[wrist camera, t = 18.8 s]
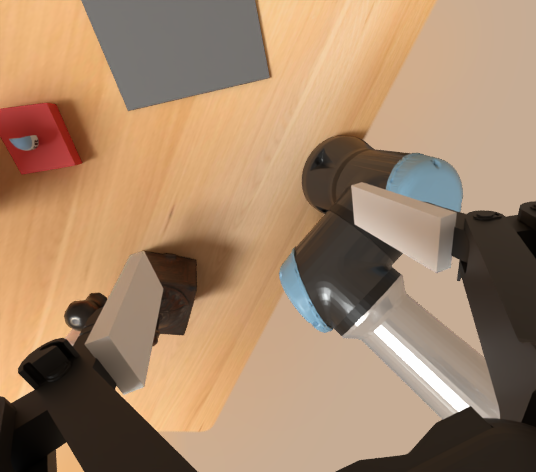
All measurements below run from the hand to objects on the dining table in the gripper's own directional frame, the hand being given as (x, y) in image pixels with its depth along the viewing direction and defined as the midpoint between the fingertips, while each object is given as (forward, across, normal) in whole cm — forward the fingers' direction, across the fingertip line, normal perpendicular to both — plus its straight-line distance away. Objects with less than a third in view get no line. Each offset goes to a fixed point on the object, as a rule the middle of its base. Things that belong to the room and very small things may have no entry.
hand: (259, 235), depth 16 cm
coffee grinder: (+32, -18, -16) cm, 40 cm away
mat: (+32, +1, +22) cm, 39 cm away
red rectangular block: (+32, -22, +10) cm, 40 cm away
